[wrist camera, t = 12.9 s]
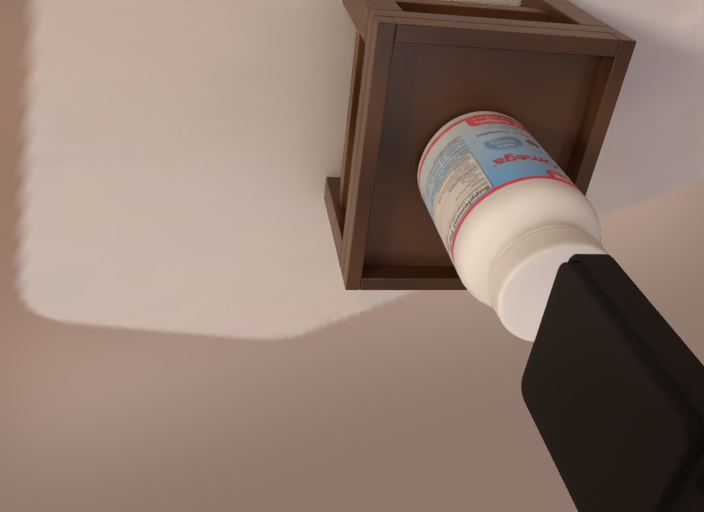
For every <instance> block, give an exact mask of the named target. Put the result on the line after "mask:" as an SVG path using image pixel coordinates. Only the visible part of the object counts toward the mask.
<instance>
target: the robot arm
mask: <svg viewBox="0 0 704 512" xmlns="http://www.w3.org/2000/svg"><path fill="white" fill-rule="evenodd" d="M521 389H522V395H523V399H524V401H525V403H526V405H527V408H528V410H529V412H530V414H531V416H532V418H533V420H534V422H535V424H536V426H537V428H538V430H539V432H540V434H541V436H542V438H543V440H544V442H545V444H546V446H547V448H548V451H549V452H550V455H551V457H552V459H553V461H554V463H555V465H556V467H557V469H558V471H559V473H560V475H561V477H562V479H563V481H564V483H565V485H566V487H567V489H568V491H569V493H570V496H571V498H572V500H573V501H574V504H575V506H576V508H577V510H578V512H704V366H703V365H702V363H701V362H700V361H699V360H698V359H697V357H696V356H695V355H694V354H693V353H692V351H691V350H690V349H689V348H688V347H687V345H686V344H685V343H684V342H683V341H682V340H681V338H680V337H679V336H678V335H677V334H676V332H675V331H674V330H673V329H672V328H671V326H670V325H669V324H668V323H667V322H666V320H665V319H664V318H663V317H662V316H661V315H660V313H659V312H658V311H657V310H656V309H655V307H654V306H653V305H652V304H651V303H650V302H649V300H648V299H647V298H646V297H645V295H644V294H643V293H642V292H641V291H640V290H639V288H638V287H637V286H636V285H635V284H634V282H633V281H632V280H631V279H630V278H629V277H628V275H627V274H626V273H625V272H624V271H623V269H622V268H621V267H620V266H619V265H618V263H617V262H616V261H615V260H614V259H613V258H612V257H611V256H610V255H607V254H574V255H572V256H571V257H570V259H569V260H568V262H564V263H562V264H561V265H560V266H559V268H558V271H557V274H556V277H555V280H554V283H553V286H552V289H551V292H550V295H549V298H548V301H547V304H546V307H545V310H544V313H543V316H542V319H541V322H540V325H539V329H538V332H537V335H536V338H535V341H534V344H533V347H532V350H531V353H530V356H529V359H528V362H527V365H526V368H525V371H524V374H523V377H522V383H521Z"/></svg>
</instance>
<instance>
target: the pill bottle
mask: <svg viewBox="0 0 704 512" xmlns="http://www.w3.org/2000/svg"><path fill="white" fill-rule="evenodd" d="M418 186H419V190H420V193H421V196H422V198H423V200H424V203H425V205H426V207H427V209H428V211H429V213H430V216H431V217H432V220H433V222H434V224H435V226H436V228H437V230H438V233H439V235H440V237H441V239H442V241H443V243H444V245H445V247H446V250H447V252H448V254H449V256H450V258H451V261H452V263H453V265H454V267H455V269H456V271H457V273H458V275H459V277H460V279H461V281H462V283H463V284H464V286H465V287H466V288H467V290H468V291H469V292H470V293H471V294H472V295H473V296H474V297H475V298H477V299H478V300H479V301H481V302H483V303H485V304H486V305H488V306H491V307H493V309H494V310H495V312H496V313H497V315H498V317H499V318H500V320H501V322H502V324H503V325H504V326H505V327H506V329H507V330H509V331H510V332H511V333H512V334H514V335H515V336H517V337H519V338H522V339H524V340H528V341H532V342H534V341H535V338H536V335H537V332H538V329H539V325H540V322H541V319H542V316H543V313H544V310H545V307H546V304H547V301H548V298H549V295H550V292H551V289H552V286H553V283H554V280H555V277H556V274H557V271H558V268H559V266H560V265H561V264H562V263H564V262H568V260H569V259H570V257H571V256H572V255H574V254H607V252H606V251H605V249H604V248H603V246H602V245H601V228H600V223H599V220H598V217H597V214H596V212H595V210H594V208H593V207H592V205H591V204H590V202H589V201H588V200H587V199H586V197H585V196H584V195H583V194H582V192H581V191H580V190H579V189H578V188H577V187H576V186H575V185H574V184H573V182H572V181H571V180H570V179H569V178H568V176H567V175H566V174H565V173H564V172H563V171H562V170H561V169H560V167H559V166H558V165H557V164H556V163H555V162H554V161H553V159H552V158H551V157H550V156H549V155H548V154H547V153H546V151H545V150H544V149H543V148H542V147H541V146H540V145H539V143H538V142H537V141H536V140H535V139H534V138H533V137H532V135H531V134H530V133H529V132H528V131H527V130H526V129H525V128H524V127H523V126H522V125H521V124H520V123H519V122H517V121H516V120H515V119H513V118H511V117H509V116H507V115H504V114H501V113H498V112H492V111H478V112H472V113H468V114H465V115H462V116H459V117H457V118H455V119H453V120H451V121H450V122H448V123H447V124H445V125H444V126H443V127H442V128H441V129H440V130H439V131H438V132H437V133H436V134H435V135H434V136H433V137H432V139H431V140H430V142H429V143H428V145H427V146H426V148H425V150H424V152H423V155H422V157H421V160H420V163H419V167H418ZM607 255H608V254H607Z"/></svg>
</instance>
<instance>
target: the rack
mask: <svg viewBox="0 0 704 512" xmlns="http://www.w3.org/2000/svg"><path fill="white" fill-rule="evenodd" d="M343 4H344V6H345V8H346V10H347V11H348V13H349V15H350V17H351V19H352V20H353V22H354V24H355V26H356V28H357V32H356V41H355V50H354V60H353V69H352V78H351V88H350V97H349V106H348V115H347V125H346V134H345V143H344V153H343V162H342V171H341V178H330V177H327V178H326V187H325V197H324V199H325V203H326V208H327V212H328V216H329V220H330V225H331V229H332V233H333V238H334V242H335V246H336V251H337V255H338V259H339V264H340V268H341V272H342V276H343V280H344V285H345V289H346V290H359V289H360V290H467V288H466V287H465V286H464V284H463V283H462V281H461V279H460V277H459V275H458V273H457V271H456V269H455V267H454V265H453V263H452V261H451V258H450V256H449V254H448V252H447V250H446V247H445V245H444V243H443V241H442V239H441V237H440V235H439V233H438V230H437V228H436V226H435V224H434V222H433V220H432V217H431V216H430V213H429V211H428V209H427V207H426V205H425V203H424V200H423V198H422V196H421V193H420V190H419V186H418V167H419V163H420V160H421V157H422V155H423V152H424V150H425V148H426V146H427V145H428V143H429V142H430V140H431V139H432V137H433V136H434V135H435V134H436V133H437V132H438V131H439V130H440V129H441V128H442V127H443V126H444V125H445V124H447V123H448V122H450V121H451V120H453V119H455V118H457V117H459V116H462V115H465V114H468V113H472V112H478V111H492V112H498V113H501V114H504V115H507V116H509V117H511V118H513V119H515V120H516V121H517V122H519V123H520V124H521V125H522V126H523V127H524V128H525V129H526V130H527V131H528V132H529V133H530V134H531V135H532V137H533V138H534V139H535V140H536V141H537V142H538V143H539V145H540V146H541V147H542V148H543V149H544V150H545V151H546V153H547V154H548V155H549V156H550V157H551V158H552V159H553V161H554V162H555V163H556V164H557V165H558V166H559V167H560V169H561V170H562V171H563V172H564V173H565V174H566V175H567V176H568V178H569V179H570V180H571V181H572V182H573V184H574V185H575V186H576V187H577V188H578V189H579V190H580V191H581V192H582V194H583V195H584V196H585V195H586V192H587V189H588V186H589V183H590V180H591V177H592V174H593V171H594V168H595V165H596V162H597V159H598V156H599V153H600V150H601V147H602V144H603V141H604V138H605V135H606V132H607V129H608V126H609V123H610V120H611V117H612V114H613V111H614V108H615V105H616V102H617V99H618V96H619V92H620V89H621V86H622V83H623V80H624V77H625V74H626V71H627V68H628V65H629V62H630V59H631V56H632V53H633V50H634V47H635V44H636V41H635V40H633V39H632V38H630V37H628V36H626V35H625V34H622V33H621V32H619V31H617V30H616V29H614V28H612V27H610V26H609V25H607V24H605V23H604V22H602V21H600V20H599V19H597V18H595V17H593V16H592V15H590V14H588V13H587V12H585V11H583V10H581V9H580V8H578V7H576V6H575V5H573V4H571V3H569V2H568V1H566V0H522V2H521V6H520V7H516V6H503V5H490V4H478V3H465V2H453V1H440V0H343Z"/></svg>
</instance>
